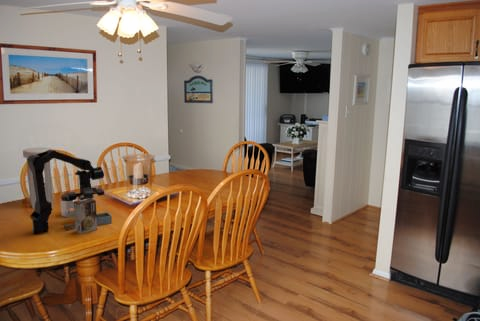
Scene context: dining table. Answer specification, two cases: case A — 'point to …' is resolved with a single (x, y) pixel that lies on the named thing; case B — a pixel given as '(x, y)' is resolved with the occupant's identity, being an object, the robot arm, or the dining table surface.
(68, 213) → the lever
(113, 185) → the dining table surface
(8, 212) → the dining table surface
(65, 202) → the jar
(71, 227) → the catapult base
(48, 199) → the stool
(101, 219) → the grey open box
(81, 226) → the coffee box
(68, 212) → the ball
